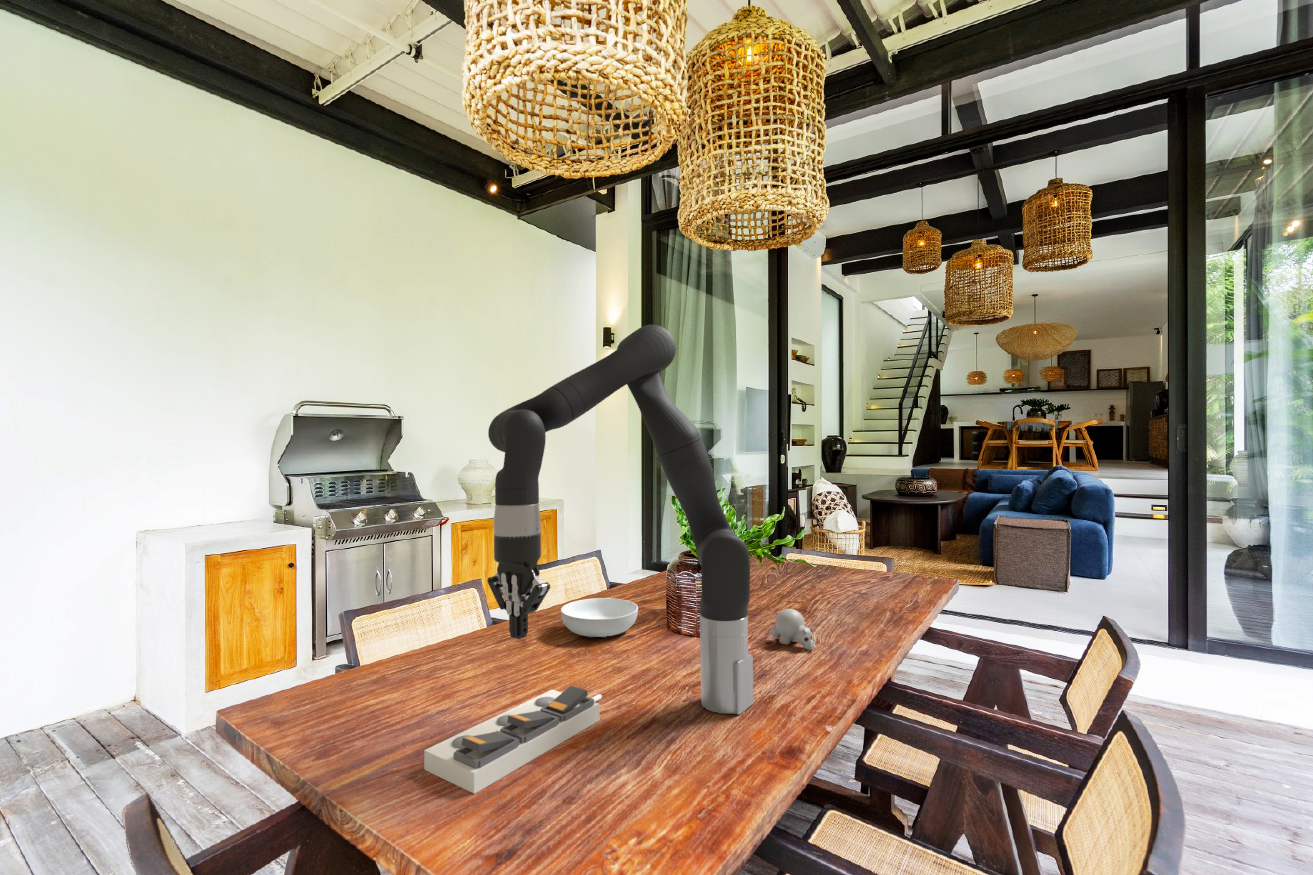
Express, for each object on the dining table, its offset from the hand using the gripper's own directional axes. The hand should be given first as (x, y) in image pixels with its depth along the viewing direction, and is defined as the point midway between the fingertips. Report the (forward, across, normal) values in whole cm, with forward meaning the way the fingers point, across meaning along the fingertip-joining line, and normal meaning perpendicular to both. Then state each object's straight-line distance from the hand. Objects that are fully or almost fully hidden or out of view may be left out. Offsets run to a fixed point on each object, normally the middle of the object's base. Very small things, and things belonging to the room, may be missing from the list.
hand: (518, 637), depth 98 cm
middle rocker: (+14, 0, -2) cm, 14 cm away
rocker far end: (+14, 0, +7) cm, 16 cm away
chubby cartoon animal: (+19, -18, -75) cm, 79 cm away
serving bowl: (+19, +31, -57) cm, 68 cm away
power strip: (+19, +3, -6) cm, 20 cm away
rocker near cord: (+14, 0, -11) cm, 18 cm away
